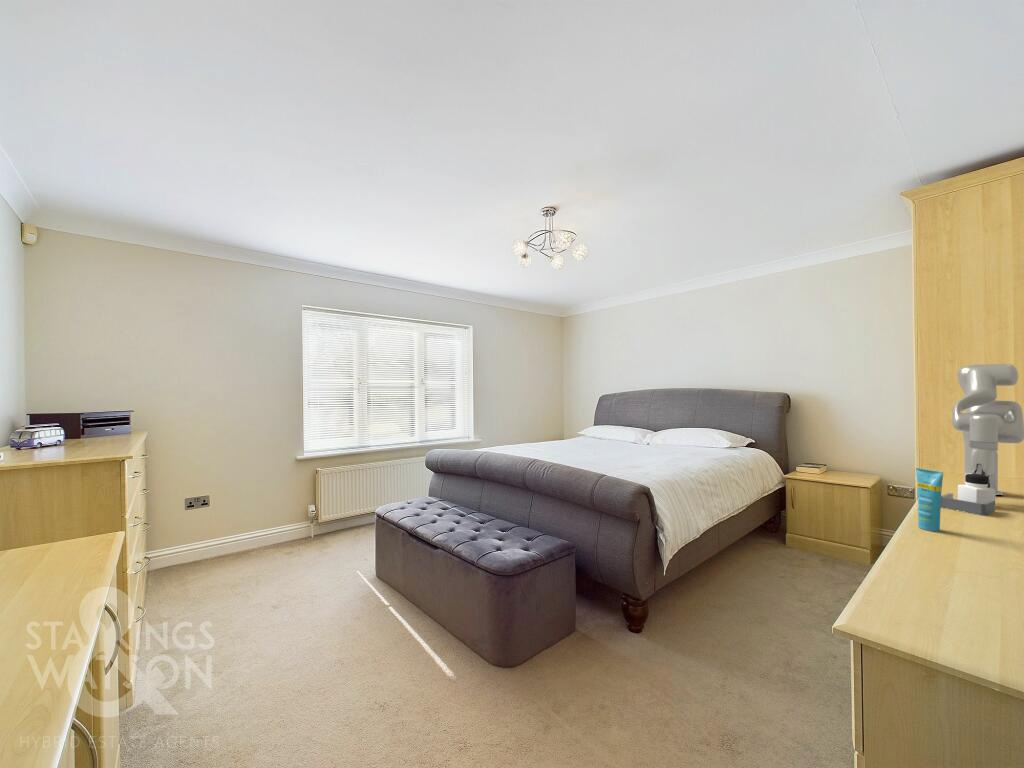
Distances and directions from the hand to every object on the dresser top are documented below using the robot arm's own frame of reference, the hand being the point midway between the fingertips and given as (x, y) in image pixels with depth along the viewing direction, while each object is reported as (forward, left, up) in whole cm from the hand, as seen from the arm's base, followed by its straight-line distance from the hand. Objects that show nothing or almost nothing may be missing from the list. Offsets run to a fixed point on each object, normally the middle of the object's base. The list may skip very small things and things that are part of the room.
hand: (983, 492), depth 166 cm
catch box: (+19, 0, -4) cm, 19 cm away
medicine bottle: (+8, 0, -4) cm, 9 cm away
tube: (+60, +1, -4) cm, 60 cm away
